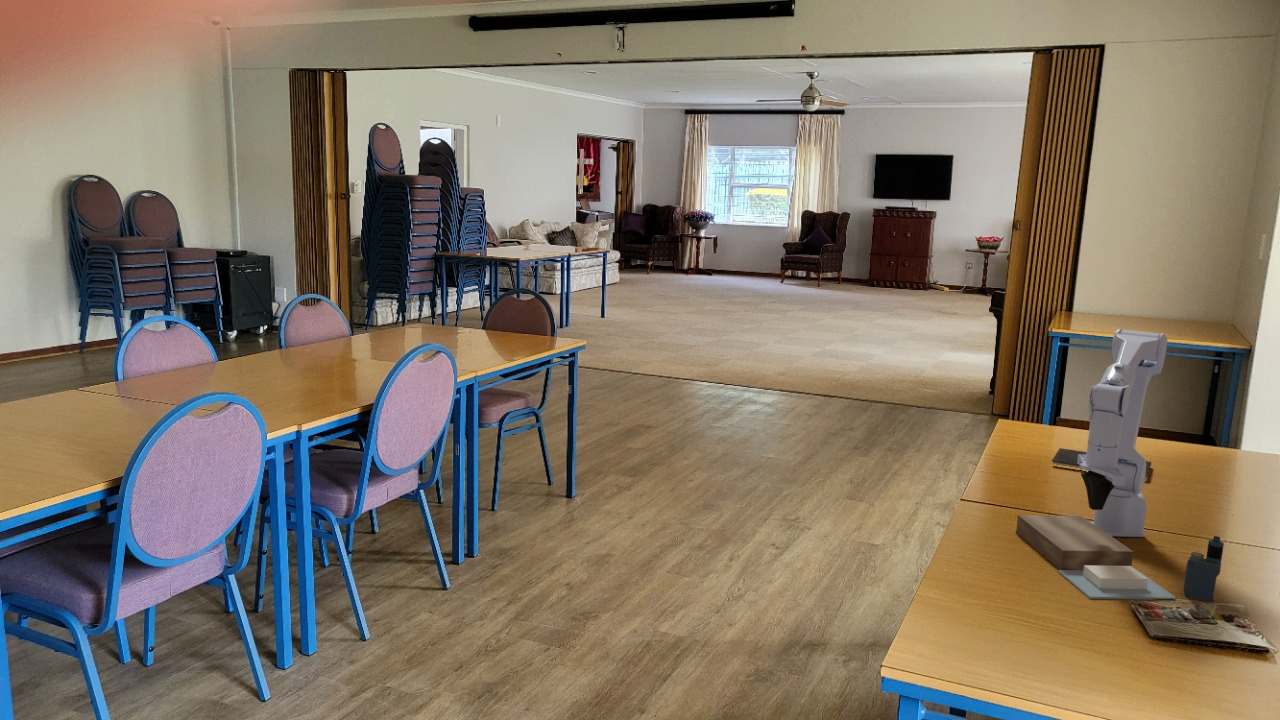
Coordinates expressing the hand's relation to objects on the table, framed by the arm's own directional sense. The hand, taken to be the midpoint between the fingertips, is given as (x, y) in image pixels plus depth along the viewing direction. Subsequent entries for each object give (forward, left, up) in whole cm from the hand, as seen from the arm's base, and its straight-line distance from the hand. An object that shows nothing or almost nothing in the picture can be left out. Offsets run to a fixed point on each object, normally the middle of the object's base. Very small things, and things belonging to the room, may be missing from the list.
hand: (1095, 508), depth 190 cm
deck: (+3, -2, -10) cm, 10 cm away
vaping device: (-10, +20, -10) cm, 25 cm away
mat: (+3, +15, -10) cm, 18 cm away
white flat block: (+3, +15, -7) cm, 17 cm away
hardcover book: (-36, -63, -11) cm, 73 cm away
